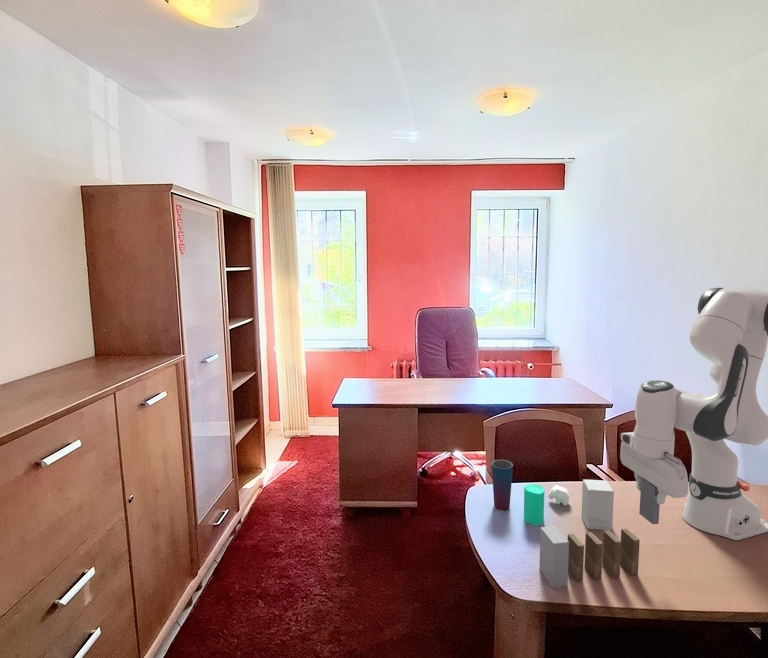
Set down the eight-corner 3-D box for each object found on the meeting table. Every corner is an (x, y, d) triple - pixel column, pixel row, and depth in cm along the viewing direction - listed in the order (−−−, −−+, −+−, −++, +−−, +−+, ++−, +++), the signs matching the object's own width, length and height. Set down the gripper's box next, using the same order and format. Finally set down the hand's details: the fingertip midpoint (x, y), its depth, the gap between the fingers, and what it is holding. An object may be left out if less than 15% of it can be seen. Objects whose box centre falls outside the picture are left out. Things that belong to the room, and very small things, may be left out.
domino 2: (590, 566, 118) (591, 531, 117) (601, 579, 114) (602, 543, 112) (584, 567, 118) (585, 532, 117) (595, 580, 113) (596, 544, 112)
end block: (553, 567, 118) (555, 525, 117) (567, 586, 112) (568, 542, 110) (539, 569, 118) (540, 527, 116) (552, 588, 111) (553, 543, 109)
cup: (496, 499, 154) (497, 457, 152) (515, 505, 150) (516, 462, 148) (487, 507, 149) (488, 464, 147) (507, 514, 144) (507, 470, 142)
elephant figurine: (548, 495, 155) (549, 479, 154) (573, 500, 152) (574, 484, 151) (546, 505, 149) (546, 488, 148) (572, 510, 146) (572, 493, 145)
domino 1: (572, 568, 118) (573, 533, 117) (582, 581, 113) (584, 545, 112) (566, 569, 118) (567, 534, 116) (576, 582, 113) (578, 546, 111)
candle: (524, 523, 139) (525, 487, 137) (523, 513, 145) (523, 478, 143) (544, 525, 137) (545, 489, 136) (542, 515, 143) (543, 480, 142)
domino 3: (607, 564, 119) (609, 530, 118) (619, 577, 114) (621, 541, 113) (602, 565, 119) (603, 530, 117) (613, 578, 114) (615, 542, 113)
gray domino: (644, 513, 118) (647, 477, 117) (658, 523, 113) (660, 486, 112) (639, 513, 118) (641, 478, 117) (652, 524, 113) (654, 487, 112)
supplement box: (612, 531, 134) (614, 491, 132) (586, 529, 135) (587, 489, 134) (605, 517, 141) (607, 480, 139) (580, 515, 142) (582, 478, 141)
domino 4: (625, 563, 120) (626, 528, 118) (637, 575, 115) (639, 539, 113) (619, 563, 119) (621, 529, 118) (632, 576, 114) (633, 540, 113)
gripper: (697, 461, 103) (693, 517, 105) (638, 430, 123) (635, 477, 125) (672, 463, 102) (668, 519, 104) (616, 431, 122) (614, 479, 124)
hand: (650, 496), depth 115 cm, fingers closed on gray domino, 5 cm apart
